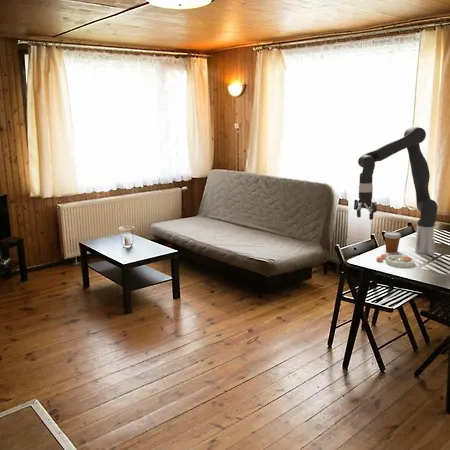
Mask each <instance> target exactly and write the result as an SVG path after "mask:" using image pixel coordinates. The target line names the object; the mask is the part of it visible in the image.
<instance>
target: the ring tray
mask: <svg viewBox="0 0 450 450" xmlns="http://www.w3.org/2000/svg"><path fill="white" fill-rule="evenodd" d="M404 256H405V255H401V254H392V255H387V257H386V259H385V263H386V264H387V265H389V266H392V267H398V268H410V267H413V266H415V258H413V257H411V256H408V257H409V261H408V262H404V261H403V257H404Z"/></svg>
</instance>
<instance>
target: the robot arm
mask: <svg viewBox="0 0 450 450" xmlns="http://www.w3.org/2000/svg"><path fill="white" fill-rule="evenodd" d="M426 136H427V132H426V130H425V129H424V128H422V127H419V126H417V127H416V126H415V127H412V126H411V127H408V128H407V129H405V131H404V133H403V137H401V138H398V139H397V140H393V141H391V142H388V143H386V144H384V145H382V146H380V147H379V148H376V149H374V150H372V151H370V152H367V153H364V154H363V155H361V156H360V157H359V158H358V159H357V164H358V165H359V166H360V167H361V168H362V170H361V172H360V174H359V184H358V198H357V199H354V204H353V210H354V211H356V217H357V218H361V217H362V212H361V211H362V209H364V210H365V209H366V210H367V211H368V212H369V217H368V218H369V221H372V220H373V219H374V214H375V213H377V212H378V210H377V209H378V208H377V204H378V203H377V201H372V199H373V193H374V192H373V188H374V187H373V176H374V175H373V174H374V171H375V167H376V162H381V161H384V160H386V159H387V158H389V157H391V156H393V155H395V154H396V153H398V152H401V151H402V150H406V149H407V154H408V158H409V164H410V170H411V177H412V180H413V185H414V189H415V190H414V191H415V199H416V200H415V201H416V202H415V203H416V209H417V210H418V211H419V213H420V218H419V219H418V220H417V225H416V226H417V227H416V239H415V251H414V252H415V253H417V254H421V255H432V256H433V255H434V248H435V238H434V232H435V224H436V221H437V215H438V204H437V202H436V201H435V200H434V199H431V196H430V192H429V185H430V184H429V183H430V177H431V175H430V171H429V170H430V169H429V164H428V161H427V160H426V158H425V156H424V154H423V153H422V150H421V146H420V144H421V143H423V141H425V139H426V138H427V137H426Z"/></svg>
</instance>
